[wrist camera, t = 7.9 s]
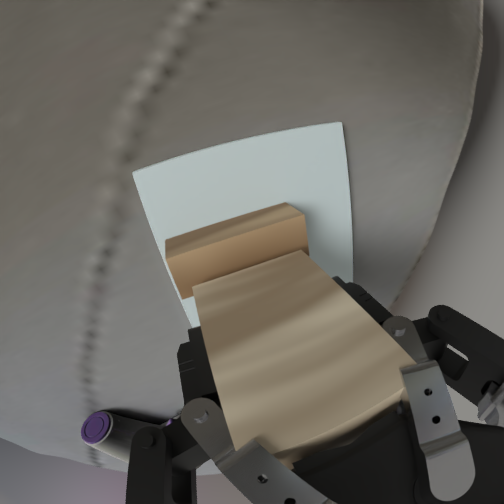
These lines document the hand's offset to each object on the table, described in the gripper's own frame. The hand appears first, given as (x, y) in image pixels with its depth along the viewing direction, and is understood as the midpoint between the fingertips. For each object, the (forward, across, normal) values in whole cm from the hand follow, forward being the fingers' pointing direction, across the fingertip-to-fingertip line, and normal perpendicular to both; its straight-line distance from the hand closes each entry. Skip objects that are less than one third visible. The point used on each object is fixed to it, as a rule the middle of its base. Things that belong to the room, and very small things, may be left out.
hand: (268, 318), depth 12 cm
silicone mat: (+6, -2, +1) cm, 6 cm away
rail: (+6, 0, -2) cm, 6 cm away
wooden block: (+2, 0, 0) cm, 2 cm away
